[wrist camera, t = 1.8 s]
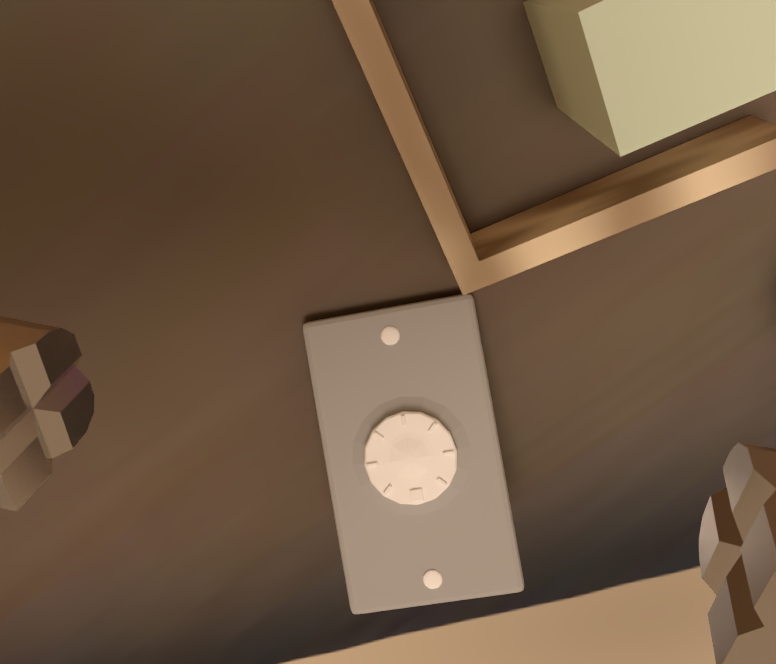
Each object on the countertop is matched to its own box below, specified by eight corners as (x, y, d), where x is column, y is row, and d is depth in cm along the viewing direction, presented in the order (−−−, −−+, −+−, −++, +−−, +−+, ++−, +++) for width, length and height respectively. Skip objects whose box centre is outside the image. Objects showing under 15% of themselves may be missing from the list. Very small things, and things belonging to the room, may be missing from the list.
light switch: (473, 290, 31) (528, 600, 31) (469, 297, 37) (515, 558, 37) (295, 322, 32) (347, 625, 32) (320, 324, 38) (363, 579, 38)
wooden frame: (456, 265, 32) (463, 295, 29) (319, -46, 26) (309, -50, 23) (755, 140, 30) (797, 159, 26) (679, -240, 23) (723, -274, 20)
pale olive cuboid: (557, 108, 29) (620, 156, 21) (522, 2, 27) (577, 12, 19) (720, 34, 28) (853, 56, 20) (695, -82, 26) (832, -110, 18)
